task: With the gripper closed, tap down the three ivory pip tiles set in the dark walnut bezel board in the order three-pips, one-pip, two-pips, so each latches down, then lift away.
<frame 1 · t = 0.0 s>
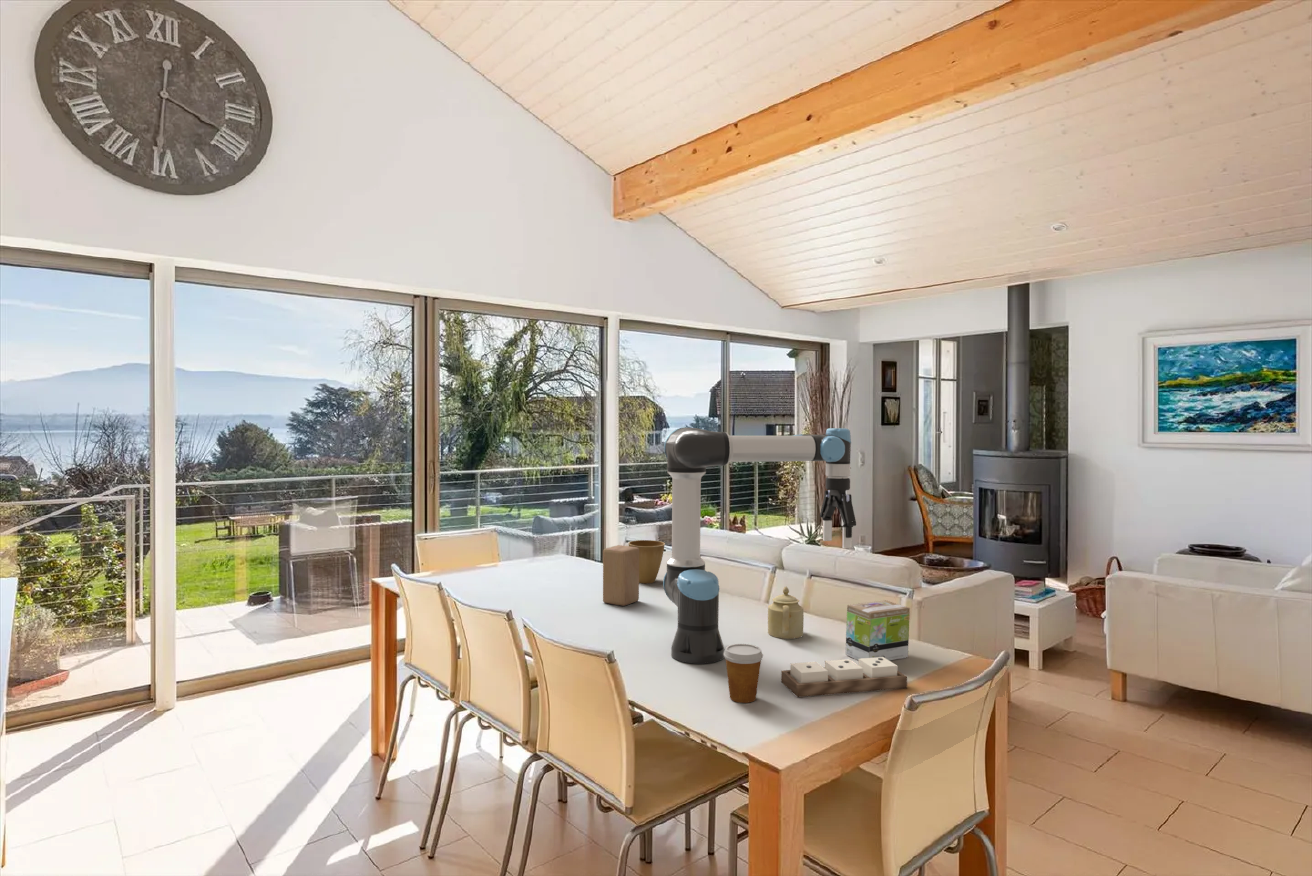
hand: (836, 544, 235), 28 cm above the table, fingers open, 13 cm apart
block: (620, 602, 272), on the table
bezel board: (843, 685, 189), on the table
beige teapot: (788, 636, 232), on the table
tile 1: (808, 673, 187), point 4 cm above the table, slide at 0.0 cm
tile 2: (843, 670, 189), point 4 cm above the table, slide at 0.0 cm
disposable coffee cup: (742, 699, 180), on the table
plant pot: (646, 582, 306), on the table
tile 3: (877, 668, 191), point 4 cm above the table, slide at 0.0 cm
tea box: (877, 657, 212), on the table
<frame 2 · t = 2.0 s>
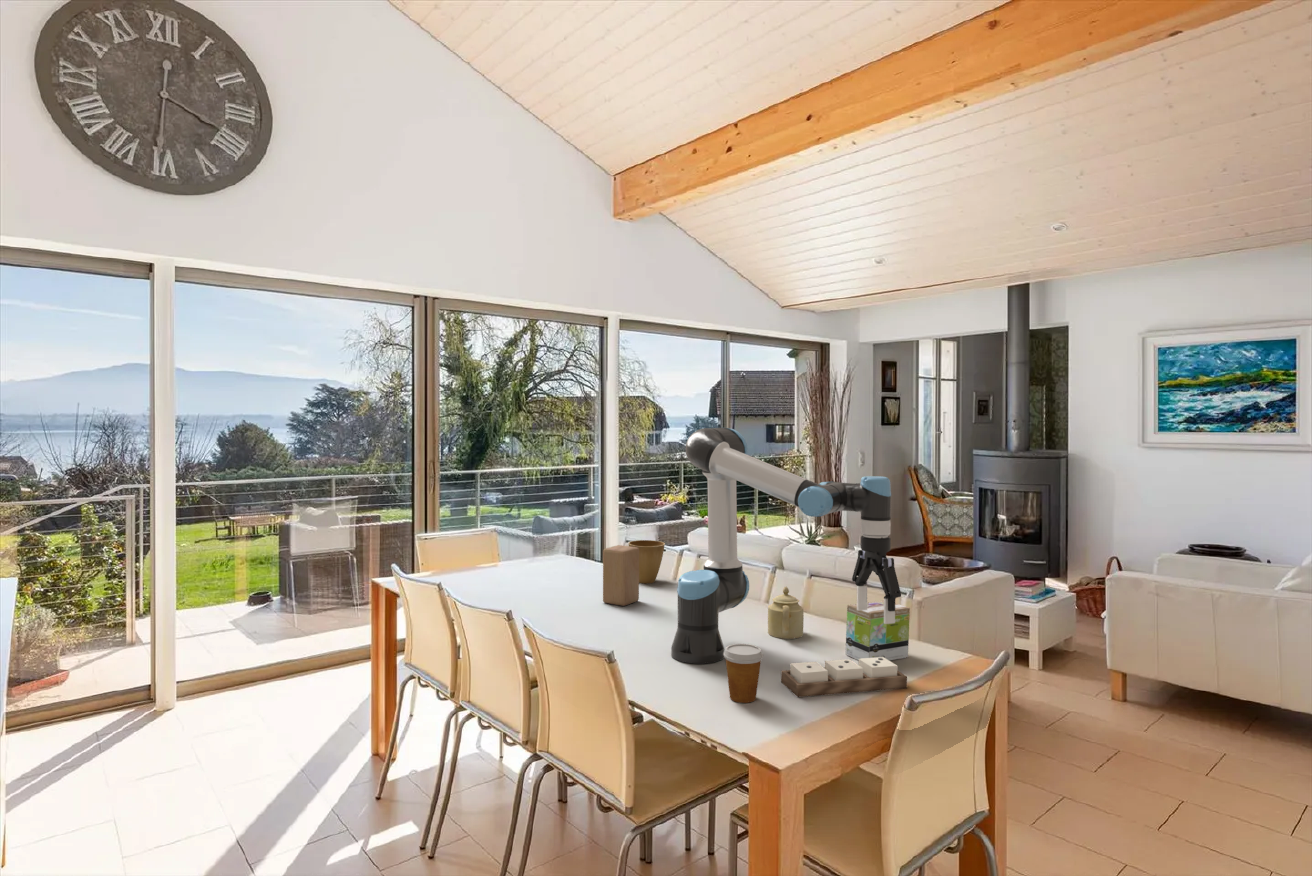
hand: (875, 616, 195), 16 cm above the table, fingers open, 13 cm apart
nothing on the table moved.
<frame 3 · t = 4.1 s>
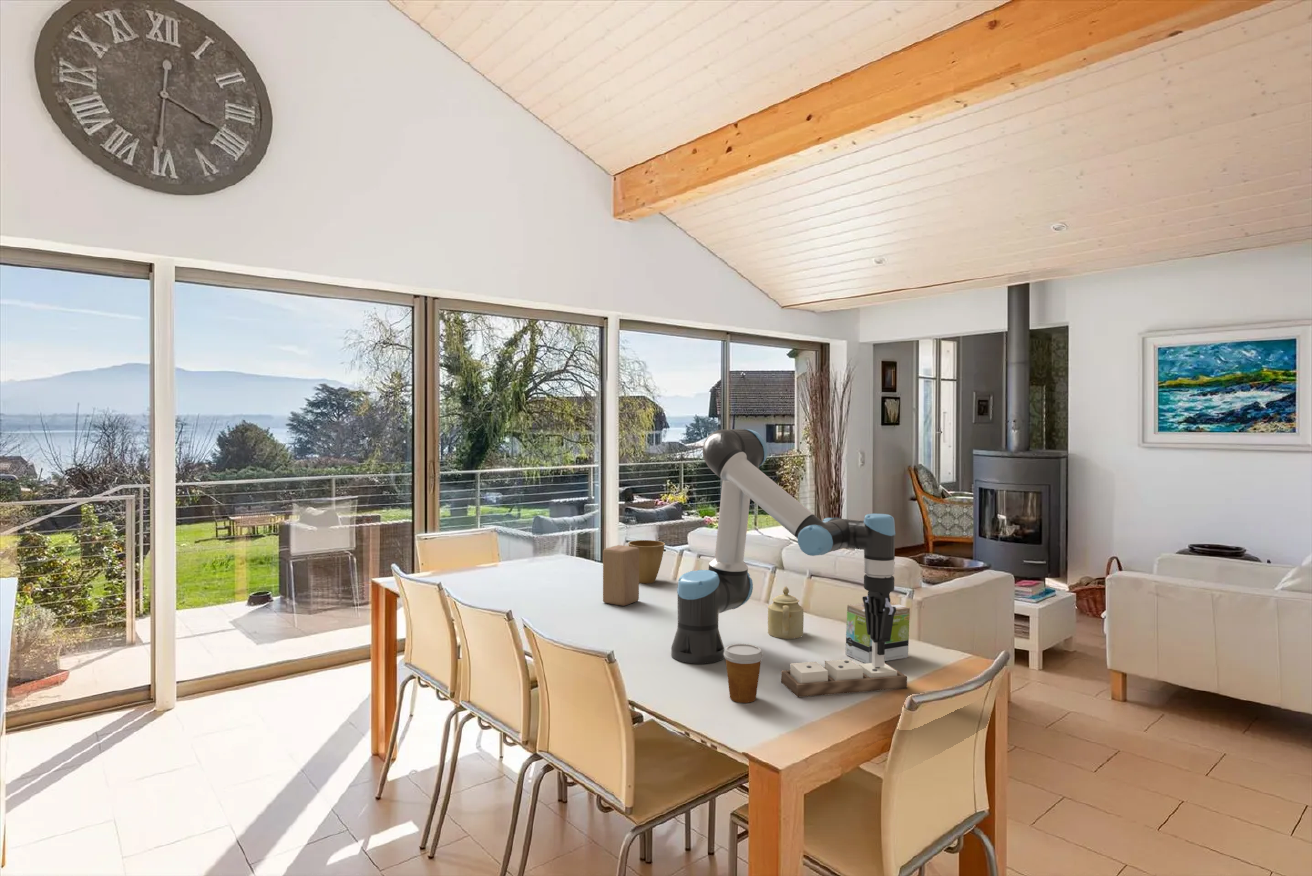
hand: (878, 666, 191), 4 cm above the table, fingers closed
tile 3: (877, 673, 191), point 2 cm above the table, slide at 1.4 cm
everything else where it was.
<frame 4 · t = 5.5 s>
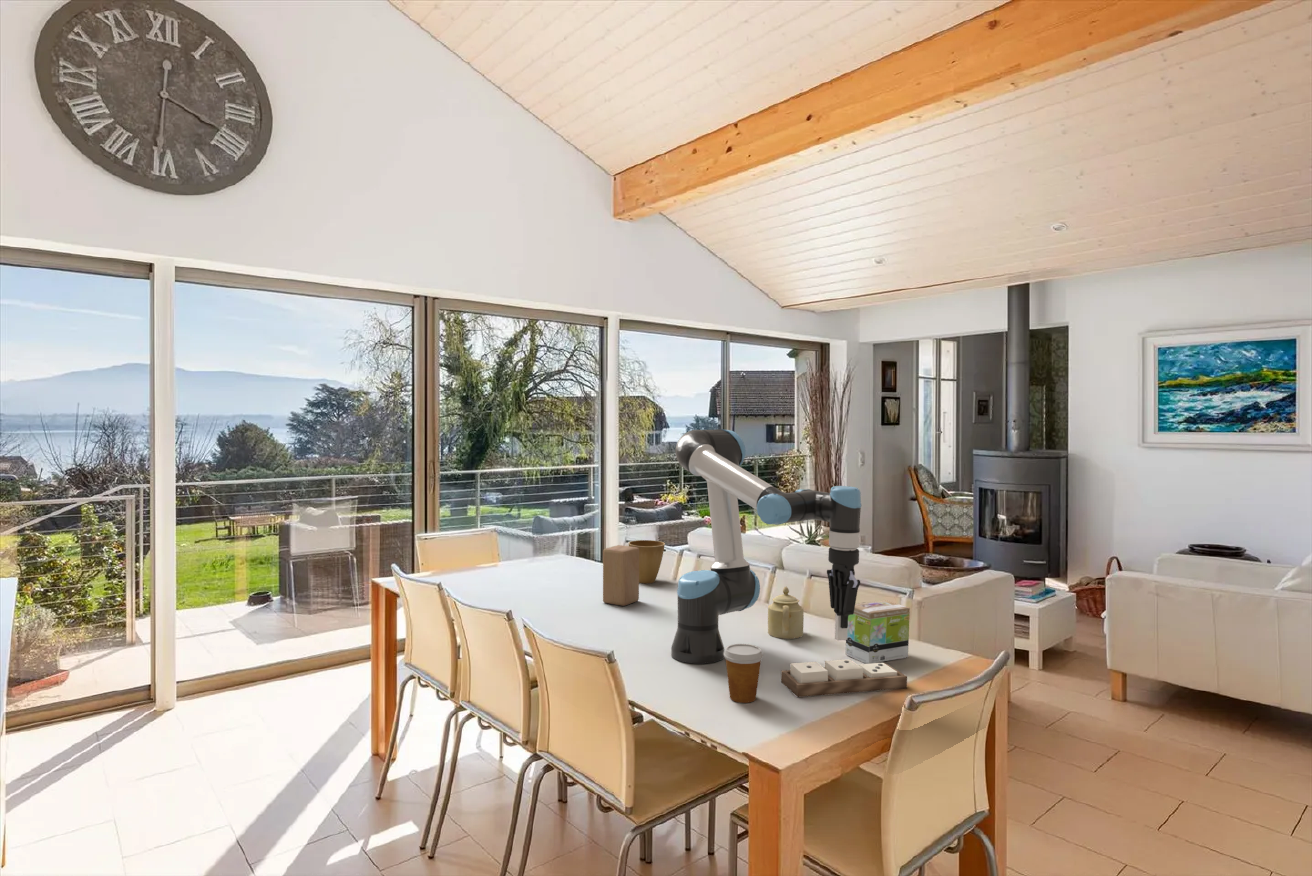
hand: (840, 639, 190), 12 cm above the table, fingers closed
nothing on the table moved.
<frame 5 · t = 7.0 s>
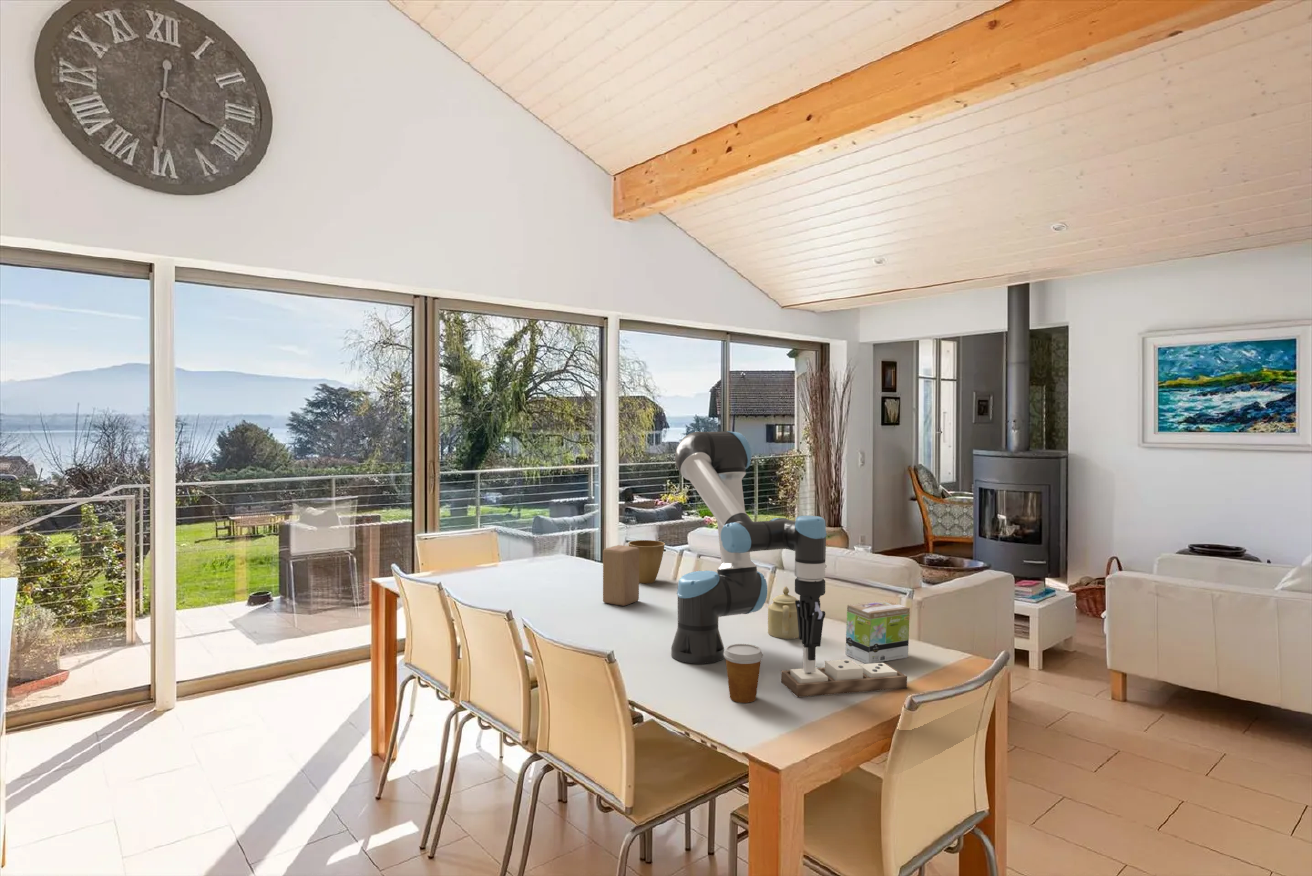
hand: (809, 671, 187), 4 cm above the table, fingers closed
tile 1: (808, 679, 187), point 2 cm above the table, slide at 1.5 cm, touching gripper
everything else where it was.
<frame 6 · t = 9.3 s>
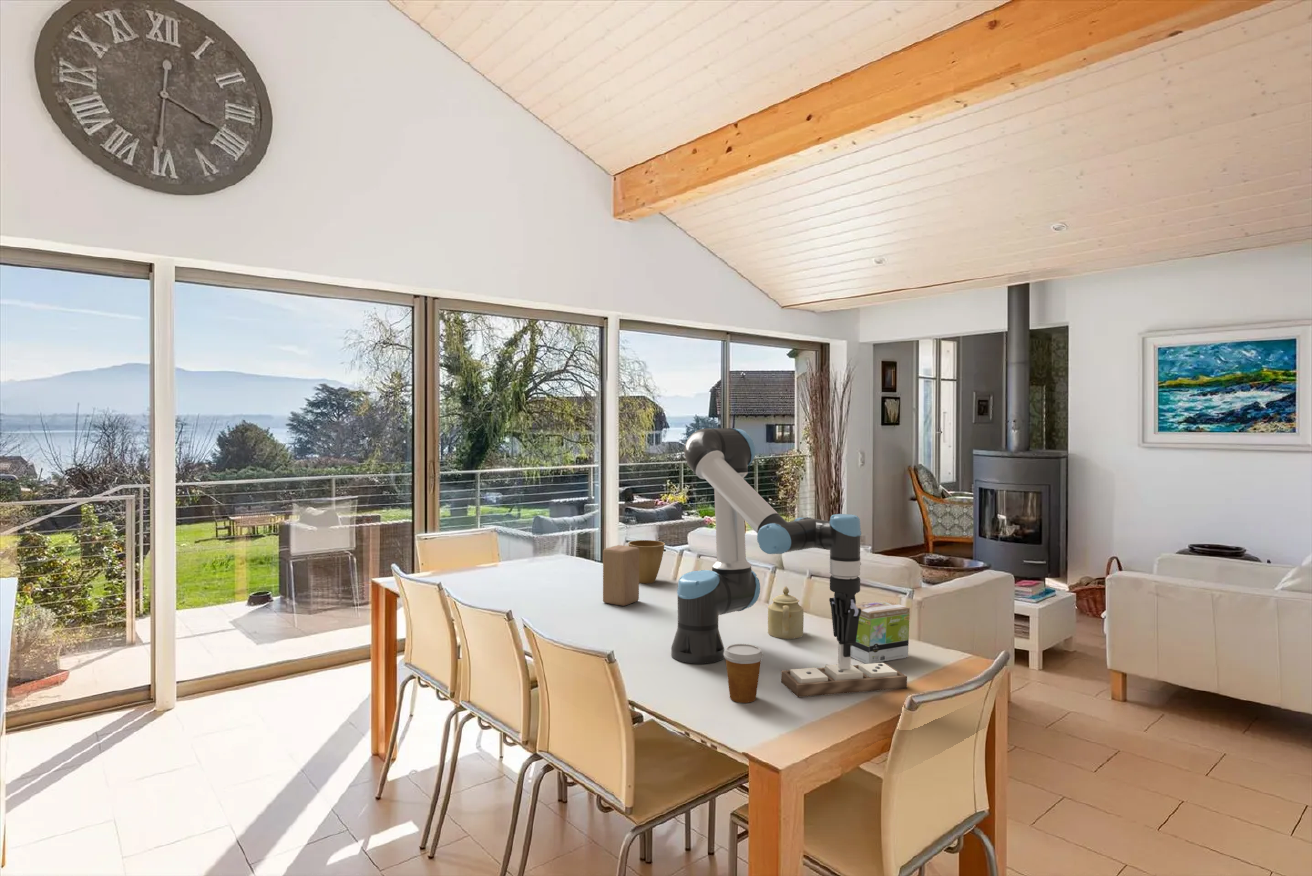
hand: (844, 668, 189), 4 cm above the table, fingers closed
tile 1: (808, 679, 187), point 2 cm above the table, slide at 1.5 cm
tile 2: (843, 674, 189), point 3 cm above the table, slide at 1.1 cm, touching gripper
everything else where it was.
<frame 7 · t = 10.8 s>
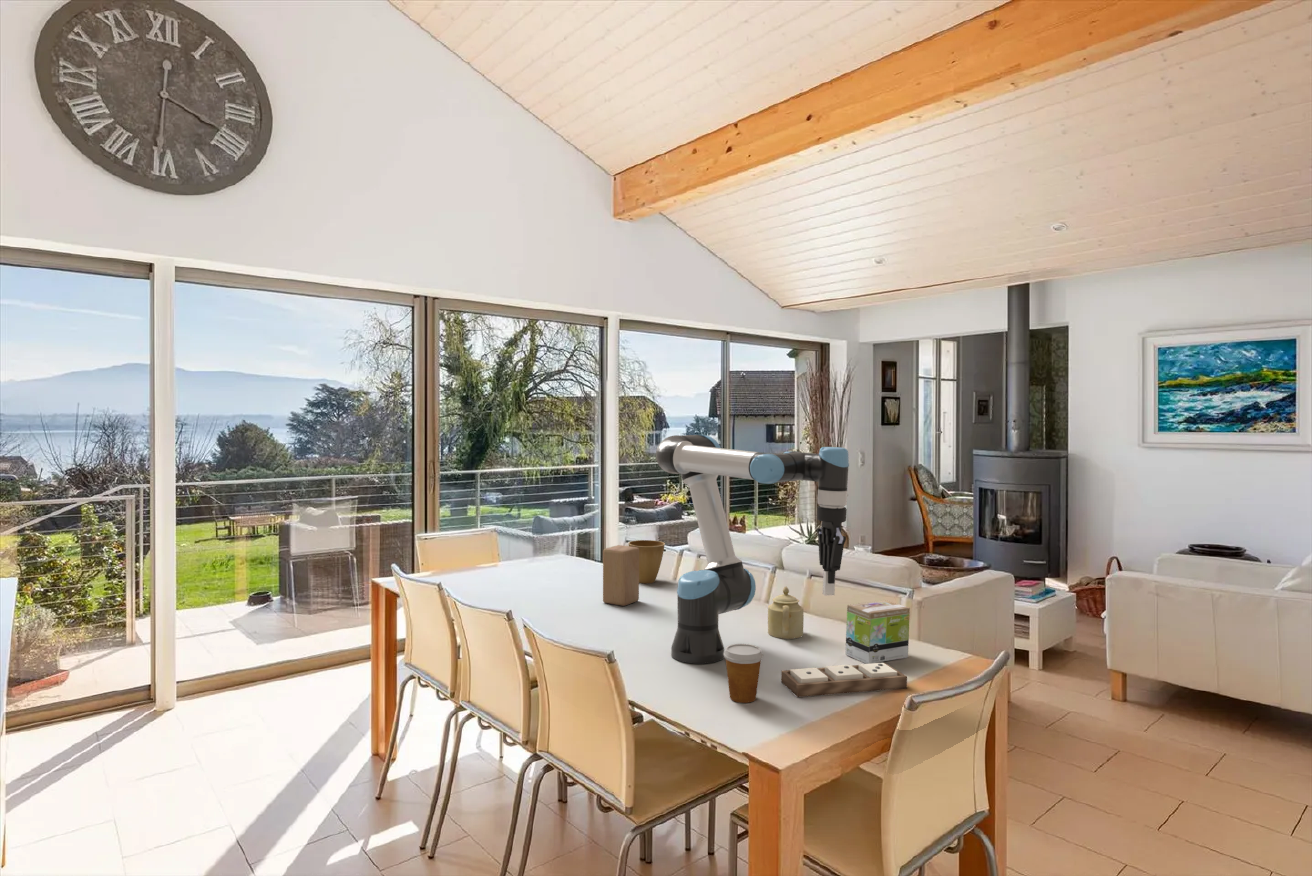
hand: (828, 594, 197), 21 cm above the table, fingers closed
tile 2: (843, 675, 189), point 2 cm above the table, slide at 1.4 cm
everything else where it was.
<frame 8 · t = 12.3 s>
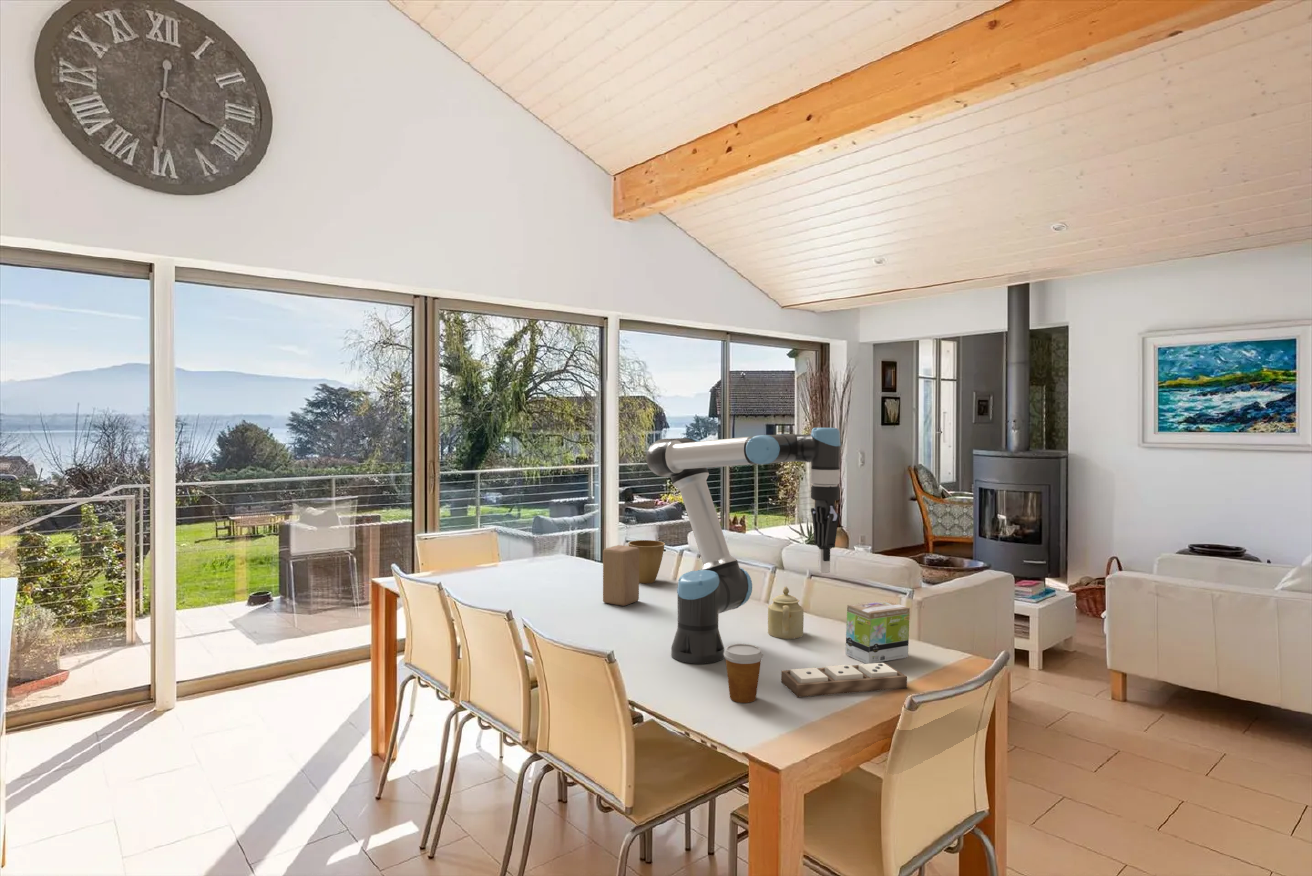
hand: (824, 572, 200), 26 cm above the table, fingers closed
nothing on the table moved.
at the end: tile 3 slide at 1.5 cm; tile 1 slide at 1.5 cm; tile 2 slide at 1.4 cm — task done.
